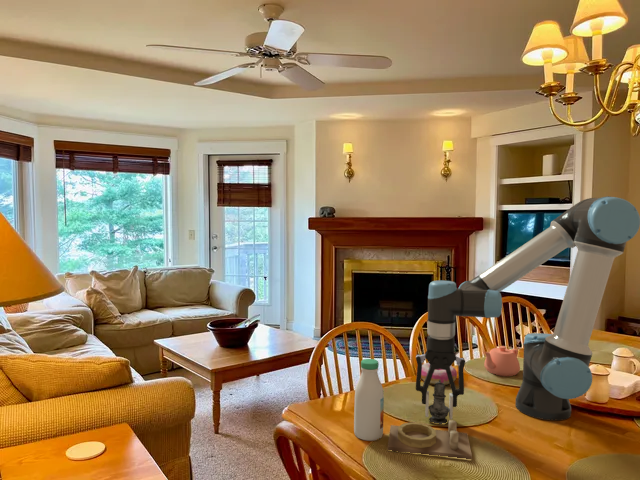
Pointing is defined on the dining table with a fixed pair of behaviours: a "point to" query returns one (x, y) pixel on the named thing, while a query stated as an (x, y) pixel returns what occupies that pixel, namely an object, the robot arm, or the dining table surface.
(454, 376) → the donut
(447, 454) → the board
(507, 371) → the teapot
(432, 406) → the dark grey tapered tower
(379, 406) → the milk bottle
